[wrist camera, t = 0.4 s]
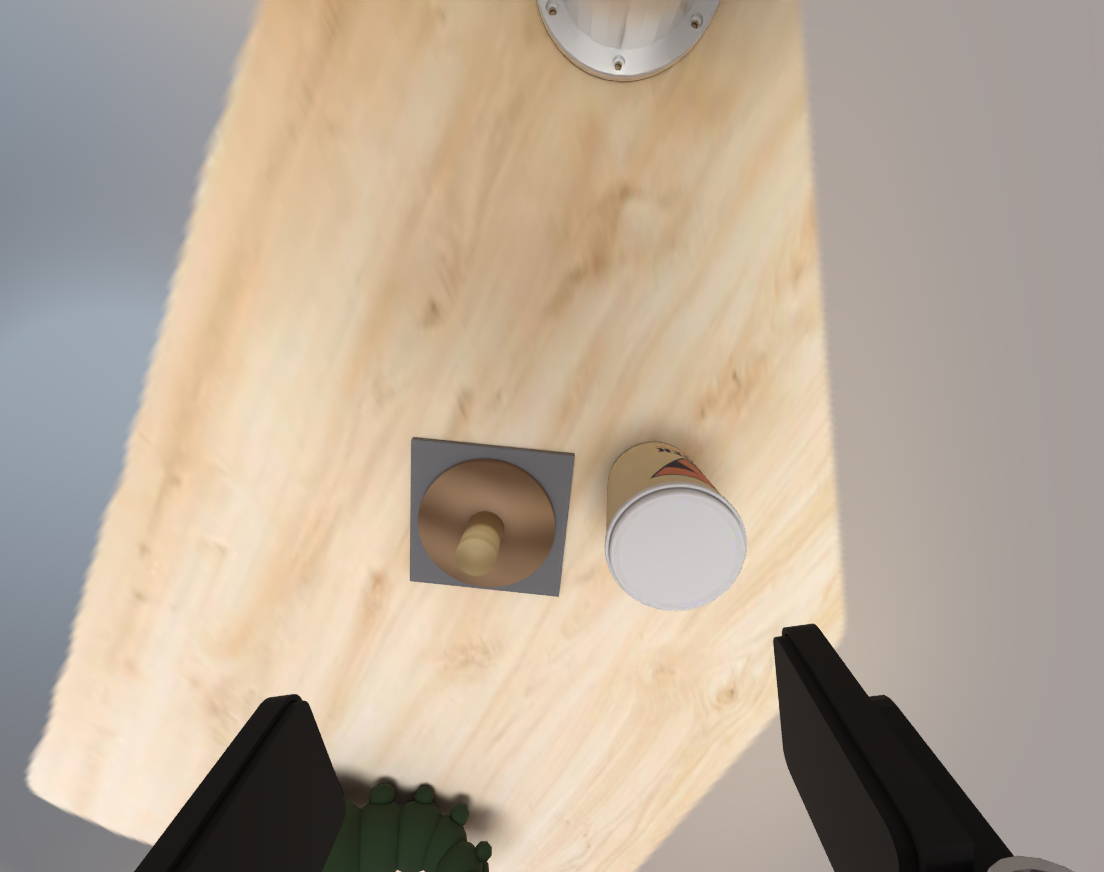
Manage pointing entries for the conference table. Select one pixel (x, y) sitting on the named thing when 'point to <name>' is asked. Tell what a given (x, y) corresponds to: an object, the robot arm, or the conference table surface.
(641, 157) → the conference table surface
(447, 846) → the toy figurine
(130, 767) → the conference table surface
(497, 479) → the lid
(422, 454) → the mat
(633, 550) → the coffee cup
